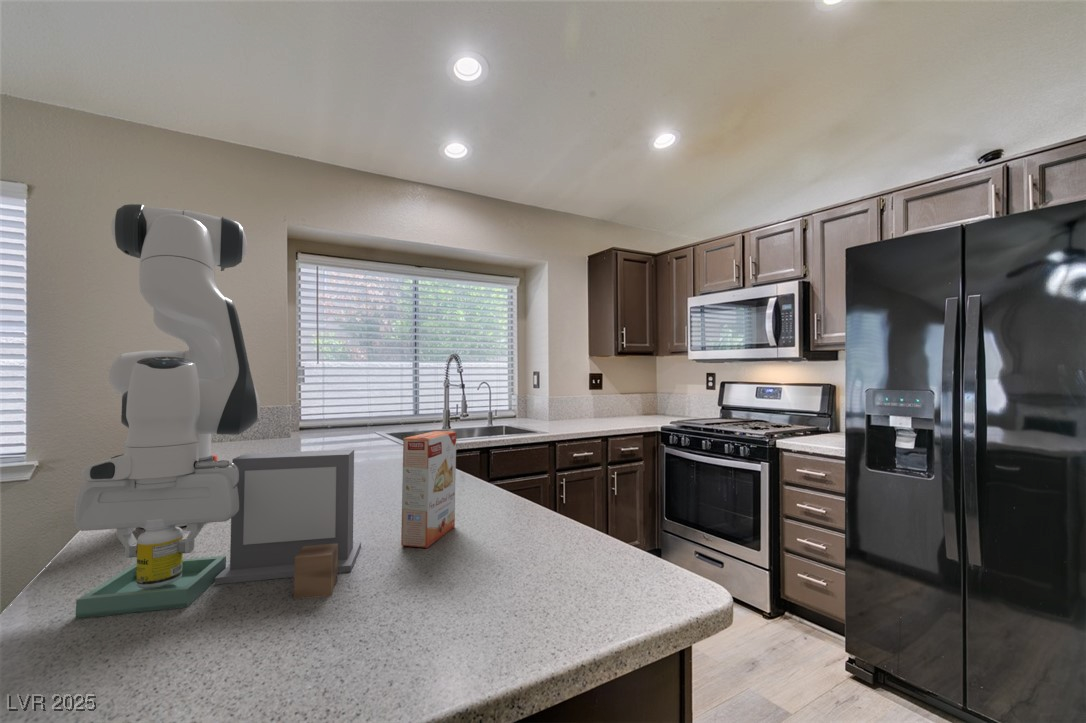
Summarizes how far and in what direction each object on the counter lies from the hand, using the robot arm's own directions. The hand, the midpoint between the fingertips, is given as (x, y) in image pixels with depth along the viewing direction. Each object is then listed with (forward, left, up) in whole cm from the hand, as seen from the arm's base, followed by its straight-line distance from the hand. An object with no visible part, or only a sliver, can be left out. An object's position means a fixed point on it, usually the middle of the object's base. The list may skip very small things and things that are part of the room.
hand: (160, 554), depth 71 cm
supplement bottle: (0, 0, -4) cm, 4 cm away
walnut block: (+5, +23, -6) cm, 24 cm away
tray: (0, 0, -6) cm, 6 cm away
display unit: (-7, +17, -6) cm, 19 cm away
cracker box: (-16, +40, -6) cm, 43 cm away
